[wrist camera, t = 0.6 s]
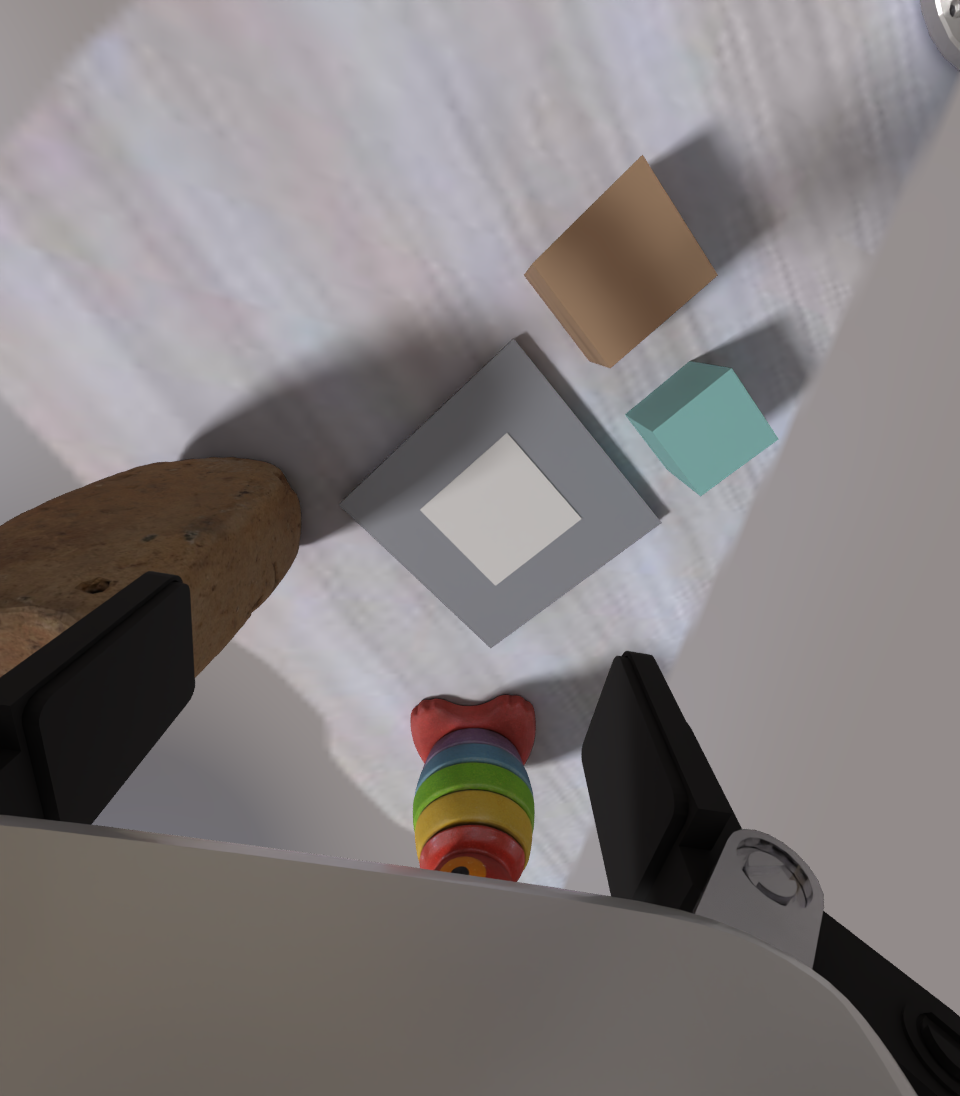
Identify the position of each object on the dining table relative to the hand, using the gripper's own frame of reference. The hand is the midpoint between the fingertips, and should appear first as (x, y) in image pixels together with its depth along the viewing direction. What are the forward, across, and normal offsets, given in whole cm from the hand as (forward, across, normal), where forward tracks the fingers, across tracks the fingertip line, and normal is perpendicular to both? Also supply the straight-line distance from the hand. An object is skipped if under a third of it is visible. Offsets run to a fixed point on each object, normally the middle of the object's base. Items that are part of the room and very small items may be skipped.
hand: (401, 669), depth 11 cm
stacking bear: (+25, -6, +26) cm, 37 cm away
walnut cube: (+25, -7, -11) cm, 28 cm away
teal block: (+25, -14, -4) cm, 29 cm away
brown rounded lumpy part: (+25, +15, +8) cm, 30 cm away
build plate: (+25, -4, +4) cm, 26 cm away
